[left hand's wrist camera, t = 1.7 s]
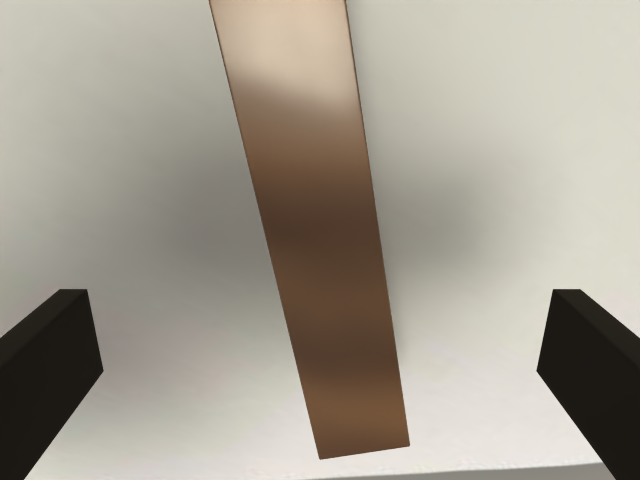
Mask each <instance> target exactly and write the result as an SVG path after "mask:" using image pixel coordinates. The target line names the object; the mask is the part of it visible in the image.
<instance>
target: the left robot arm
mask: <svg viewBox="0 0 640 480" xmlns="http://www.w3.org/2000/svg"><path fill="white" fill-rule="evenodd" d="M102 372H103V366H102V361H101V356H100V351H99V346H98V341H97V336H96V332H95V327H94V322H93V317H92V312H91V307H90V302H89V297H88V292H87V289H59V290H58V291H57V292H56V293H55V294H53V295H52V296H51V297H50V298H49V299H47V300H46V301H45V302H44V303H42V304H41V305H40V306H39V307H38V308H36V309H35V310H34V311H33V312H32V313H30V314H29V315H28V316H27V317H25V318H24V319H23V320H22V321H21V322H19V323H18V324H17V325H16V326H14V327H13V328H12V329H11V330H10V331H8V332H7V333H6V334H5V335H4V336H2V337H1V338H0V480H24V479H25V478H26V476H27V475H28V473H29V472H30V471H31V469H32V468H33V467H34V465H35V464H36V463H37V461H38V460H39V458H40V457H41V456H42V454H43V453H44V452H45V450H46V449H47V448H48V446H49V445H50V443H51V442H52V441H53V439H54V438H55V437H56V435H57V434H58V433H59V431H60V430H61V428H62V427H63V426H64V424H65V423H66V422H67V420H68V419H69V418H70V416H71V415H72V413H73V412H74V411H75V409H76V408H77V407H78V405H79V404H80V402H81V401H82V400H83V398H84V397H85V396H86V394H87V393H88V392H89V390H90V389H91V387H92V386H93V385H94V383H95V382H96V381H97V379H98V378H99V377H100V375H101V374H102ZM537 372H538V374H539V375H540V377H541V378H542V379H543V381H544V382H545V383H546V385H547V386H548V387H549V389H550V390H551V392H552V393H553V394H554V396H555V397H556V398H557V400H558V401H559V402H560V404H561V405H562V407H563V408H564V409H565V411H566V412H567V413H568V415H569V416H570V418H571V419H572V420H573V422H574V423H575V424H576V426H577V427H578V428H579V430H580V431H581V433H582V434H583V435H584V437H585V438H586V439H587V441H588V442H589V443H590V445H591V446H592V448H593V449H594V450H595V452H596V453H597V454H598V456H599V457H600V458H601V460H602V461H603V463H604V464H605V465H606V467H607V468H608V469H609V471H610V472H611V474H612V475H613V476H614V478H615V479H616V480H640V338H639V337H638V336H636V335H635V334H634V333H633V332H632V331H630V330H629V329H628V328H627V327H626V326H624V325H623V324H622V323H621V322H619V321H618V320H617V319H616V318H615V317H613V316H612V315H611V314H610V313H608V312H607V311H606V310H605V309H604V308H602V307H601V306H600V305H599V304H598V303H596V302H595V301H594V300H593V299H591V298H590V297H589V296H588V295H587V294H585V293H584V292H583V291H582V290H581V289H553V292H552V297H551V302H550V307H549V312H548V317H547V322H546V327H545V332H544V336H543V341H542V346H541V351H540V356H539V361H538V366H537Z"/></svg>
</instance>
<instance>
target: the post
mask: <svg viewBox="0 0 640 480" xmlns="http://www.w3.org/2000/svg"><path fill="white" fill-rule="evenodd" d="M209 4H210V8H211V12H212V17H213V21H214V25H215V29H216V33H217V37H218V41H219V46H220V50H221V54H222V58H223V62H224V66H225V70H226V75H227V79H228V83H229V87H230V91H231V95H232V99H233V104H234V108H235V112H236V116H237V120H238V124H239V128H240V133H241V137H242V141H243V145H244V149H245V153H246V157H247V162H248V166H249V170H250V174H251V178H252V182H253V186H254V191H255V195H256V199H257V203H258V207H259V211H260V215H261V220H262V224H263V228H264V232H265V236H266V240H267V244H268V249H269V253H270V257H271V261H272V265H273V269H274V273H275V278H276V282H277V286H278V290H279V294H280V298H281V302H282V307H283V311H284V315H285V319H286V323H287V327H288V331H289V336H290V340H291V344H292V348H293V352H294V356H295V360H296V365H297V369H298V373H299V377H300V381H301V385H302V389H303V394H304V398H305V402H306V406H307V410H308V414H309V418H310V423H311V427H312V431H313V435H314V439H315V443H316V448H317V452H318V456H319V459H320V460H321V459H328V458H335V457H341V456H348V455H355V454H361V453H368V452H375V451H381V450H388V449H395V448H401V447H408V446H410V441H409V434H408V427H407V421H406V414H405V407H404V400H403V393H402V386H401V379H400V372H399V365H398V358H397V351H396V344H395V338H394V331H393V324H392V317H391V310H390V303H389V296H388V289H387V282H386V275H385V268H384V261H383V255H382V248H381V241H380V234H379V227H378V220H377V213H376V206H375V199H374V192H373V185H372V178H371V172H370V165H369V158H368V151H367V144H366V137H365V130H364V123H363V116H362V109H361V102H360V95H359V88H358V82H357V75H356V68H355V61H354V54H353V47H352V40H351V33H350V26H349V19H348V12H347V5H346V0H209Z"/></svg>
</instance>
